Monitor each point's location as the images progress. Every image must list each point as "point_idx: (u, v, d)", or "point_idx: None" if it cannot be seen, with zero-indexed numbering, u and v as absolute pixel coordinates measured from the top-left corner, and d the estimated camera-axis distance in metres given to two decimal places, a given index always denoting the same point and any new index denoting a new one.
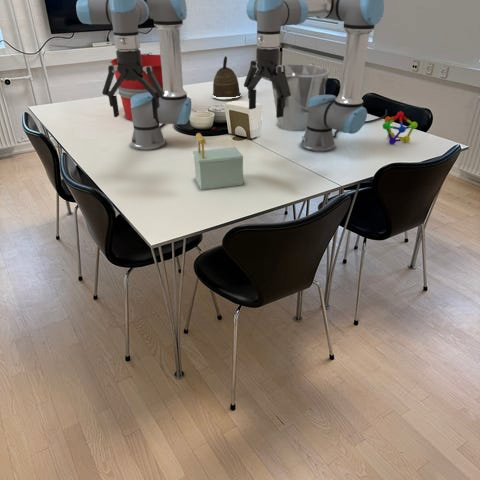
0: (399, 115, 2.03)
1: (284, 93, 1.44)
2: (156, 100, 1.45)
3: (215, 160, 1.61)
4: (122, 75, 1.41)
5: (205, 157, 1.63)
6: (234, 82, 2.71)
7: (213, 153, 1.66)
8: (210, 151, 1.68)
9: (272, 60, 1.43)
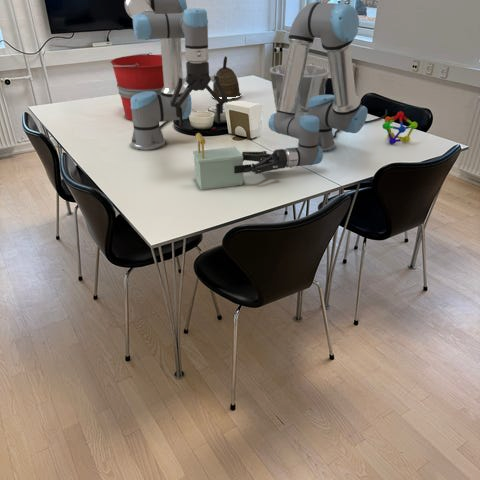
0: (399, 115, 2.03)
1: None
2: (221, 106, 1.56)
3: (215, 160, 1.62)
4: (192, 86, 1.49)
5: (205, 157, 1.63)
6: (234, 82, 2.71)
7: (213, 153, 1.66)
8: (210, 151, 1.68)
9: None
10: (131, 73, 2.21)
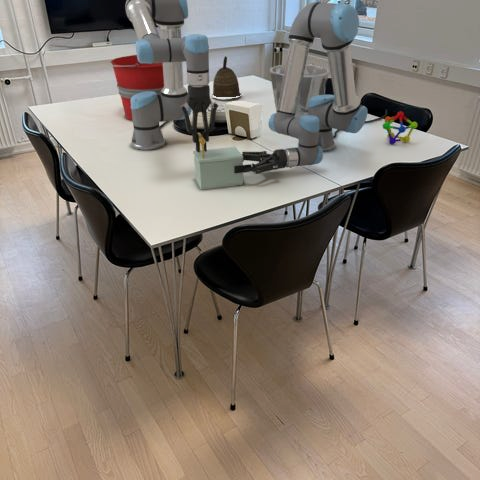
0: (399, 115, 2.03)
1: None
2: (207, 135, 1.60)
3: (215, 160, 1.62)
4: (196, 109, 1.53)
5: (205, 156, 1.63)
6: (234, 82, 2.71)
7: (213, 153, 1.66)
8: (210, 151, 1.68)
9: None
10: (131, 73, 2.21)
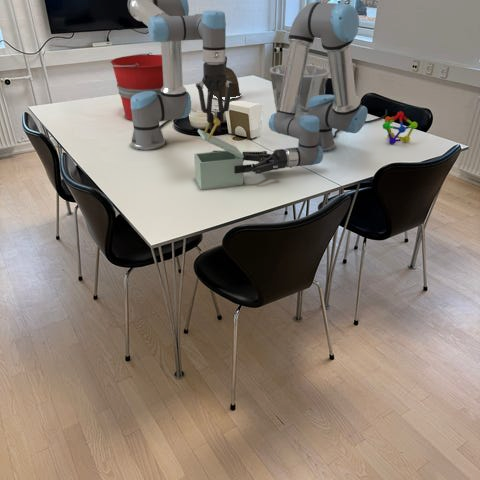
0: (399, 115, 2.03)
1: None
2: (222, 114, 1.58)
3: (219, 145, 1.59)
4: (211, 88, 1.51)
5: (211, 138, 1.60)
6: (234, 82, 2.71)
7: (217, 140, 1.64)
8: (214, 137, 1.65)
9: None
10: (131, 73, 2.21)
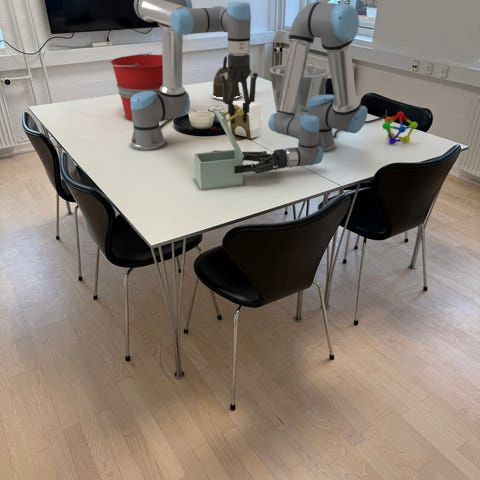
0: (399, 115, 2.03)
1: None
2: (248, 105, 1.59)
3: (230, 133, 1.58)
4: (235, 79, 1.52)
5: None
6: None
7: None
8: None
9: None
10: (131, 73, 2.21)
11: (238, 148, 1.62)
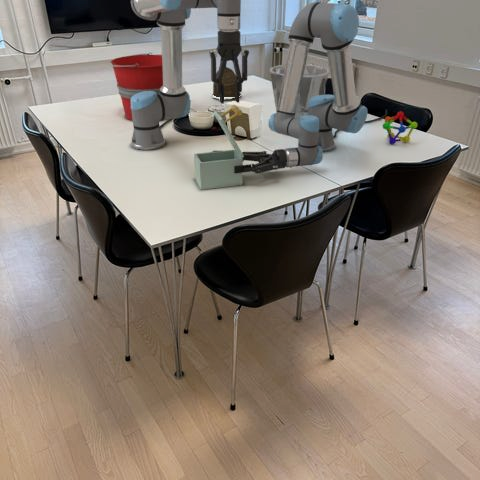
0: (399, 115, 2.03)
1: None
2: (240, 84, 1.55)
3: (229, 134, 1.58)
4: (225, 57, 1.47)
5: None
6: (234, 82, 2.71)
7: None
8: None
9: None
10: (131, 73, 2.21)
11: (238, 148, 1.62)
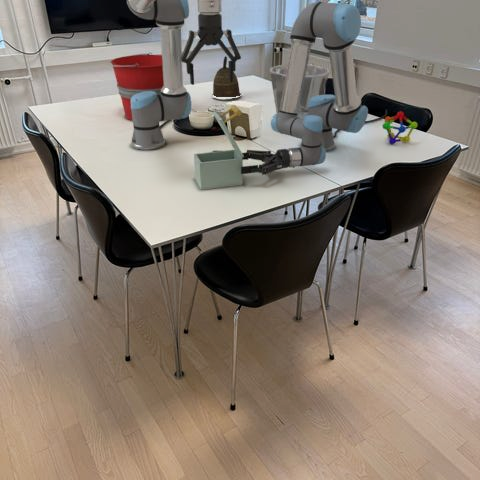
0: (399, 115, 2.03)
1: None
2: (234, 63, 1.50)
3: (229, 134, 1.58)
4: (205, 40, 1.43)
5: None
6: (234, 82, 2.71)
7: None
8: None
9: None
10: (131, 73, 2.21)
11: (237, 148, 1.62)
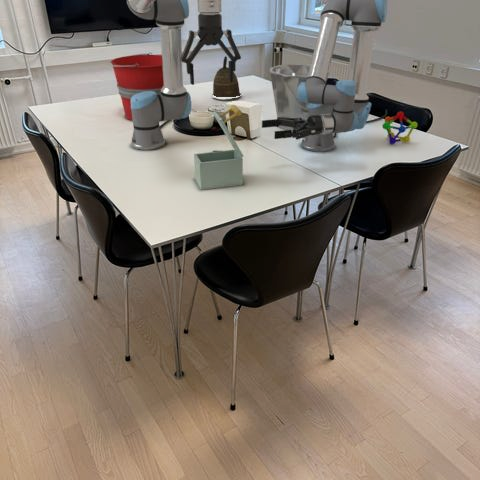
0: (399, 115, 2.03)
1: None
2: (234, 63, 1.50)
3: (229, 134, 1.58)
4: (205, 40, 1.43)
5: None
6: (234, 82, 2.71)
7: None
8: None
9: None
10: (131, 73, 2.21)
11: (237, 148, 1.62)
